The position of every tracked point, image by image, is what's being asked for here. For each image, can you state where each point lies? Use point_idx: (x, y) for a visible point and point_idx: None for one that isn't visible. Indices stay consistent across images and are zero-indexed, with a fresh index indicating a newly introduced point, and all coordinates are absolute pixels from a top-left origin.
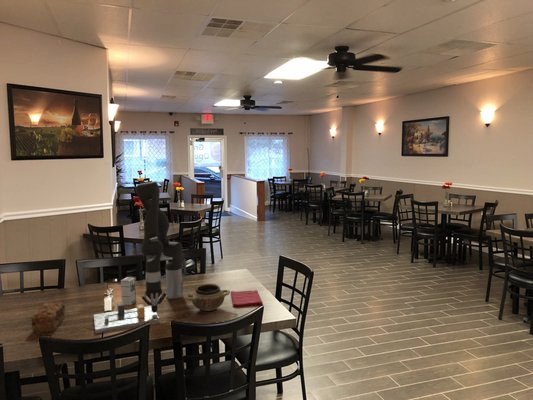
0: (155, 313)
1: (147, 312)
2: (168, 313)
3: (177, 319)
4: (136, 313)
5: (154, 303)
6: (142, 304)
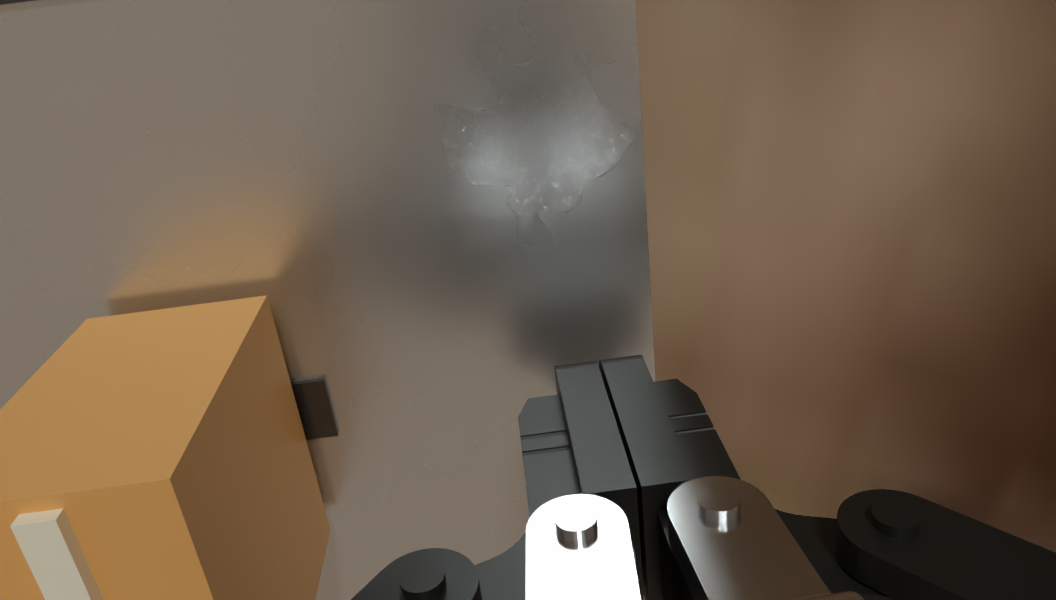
0: (619, 327)
1: (389, 183)
2: (958, 126)
3: (1018, 518)
4: (33, 164)
5: (670, 564)
6: (150, 494)
